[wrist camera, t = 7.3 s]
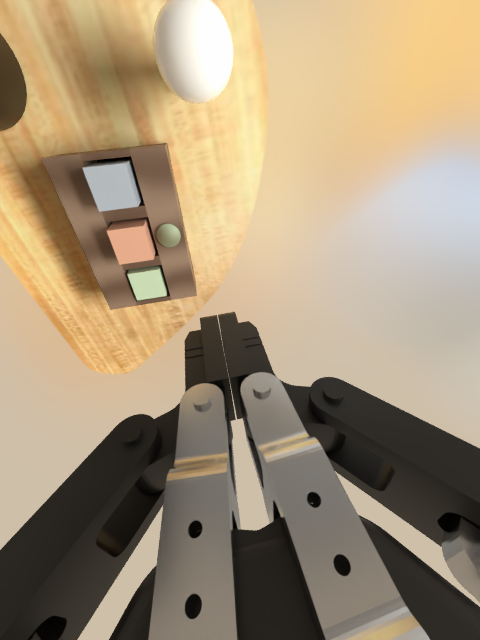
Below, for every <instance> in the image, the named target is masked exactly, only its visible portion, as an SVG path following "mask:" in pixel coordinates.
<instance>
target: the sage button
mask: <svg viewBox="0 0 480 640" xmlns="http://www.w3.org/2000/svg"><path fill="white" fill-rule="evenodd" d="M127 275H128V277H129V280H130V283H131V285H132V288H133V291H134V293H135V296H136V299H137V301H138V300H144V299H151V298H157V297H163V296H167V287H168V286H167V282H166V279H165V275H164V271H163V268H162V265H156V266H149V267H142V268H136V269H129V271H128V274H127Z"/></svg>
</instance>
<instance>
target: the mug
mask: <svg viewBox="0 0 480 640" xmlns="http://www.w3.org/2000/svg"><path fill="white" fill-rule="evenodd" d="M26 98H27V93H26V85H25V80H24V76H23V73H22V70H21V68H20V65H19V63H18V61H17V59H16V57H15V55H14V53H13V51H12V50H11V48H10V46H9V45H8V43H7V42H6V40H5V39H4V38H3V37H2V35H1V34H0V131H1V130H6V129H8V128H10V127H12V126H14V125H15V124H16V123H17V122H18V121H19V120H20V118H21V117H22V115H23V113H24V111H25V106H26Z"/></svg>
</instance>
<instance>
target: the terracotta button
mask: <svg viewBox="0 0 480 640" xmlns="http://www.w3.org/2000/svg"><path fill="white" fill-rule="evenodd" d="M107 234H108V236H109V239H110V241H111V244H112V247H113V249H114V252H115V254H116V257H117V260H118V262H119V265H121V264H128V263H135V262H141V261H148V260H154V256H155V251H156V243H155V239H154V236H153V232H152V229H151V225H150V222H149V218H148V217H143V218H135V219H128V220H120V221H113V223H112V224H111V225H110V227H109V228H108V229H107Z"/></svg>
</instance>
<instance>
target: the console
mask: <svg viewBox="0 0 480 640" xmlns="http://www.w3.org/2000/svg"><path fill="white" fill-rule="evenodd" d="M128 156H131V158H132V161H133V165H134V168H135V172H136V176H137V179H138V183H139V186H140V190H141V193H142V197H143V199H142V200H141V202H140V204H139V206H138V207H132V208H124V209H116V210H109V211H101V212H99V210H98V208H97V205H96V202H95V200H94V197H93V195H92V192H91V190H90V187H89V184H88V182H87V179H86V177H85V174H84V171H83V169H82V168H83V167H86V166H88V165H91V164H93V163H97V161H96V160H100V159H110V158H119V157H128ZM42 161H43V163H44V166H45V168H46V170H47V172H48V174H49V176H50V179H51V181H52V183H53V185H54V187H55V190H56V192H57V194H58V196H59V198H60V200H61V203H62V205H63V207H64V209H65V211H66V214H67V216H68V218H69V220H70V222H71V224H72V227H73V229H74V231H75V233H76V235H77V238H78V240H79V242H80V244H81V246H82V248H83V251H84V253H85V255H86V257H87V259H88V262H89V264H90V266H91V268H92V270H93V272H94V275H95V277H96V279H97V281H98V283H99V286H100V288H101V290H102V292H103V294H104V296H105V299H106V301H107V303H108V305H109V307H110V309H111V310H112V309H118V308H124V307H130V306H137V305H143V304H149V303H155V302H161V301H167V300H173V299H179V298H186V297H192V296H197V293H196V282H195V276H194V271H193V266H192V261H191V257H190V252H189V247H188V242H187V237H186V232H185V228H184V223H183V218H182V213H181V208H180V203H179V198H178V194H177V189H176V184H175V179H174V174H173V169H172V164H171V160H170V155H169V150H168V145H167V143H165V144H155V145H146V146H136V147H127V148H118V149H108V150H99V151H89V152H80V153H71V154H61V155H56V156H51V157H46V158H42ZM143 217H148V218H149V222H150V225H151V229H152V232H153V236H154V239H155V243H156V251H155V256H154V260H148V261H141V262H135V263H128V264H121V265H119V262H118V260H117V257H116V254H115V252H114V249H113V247H112V244H111V241H110V239H109V236H108V234H107V229H108V228H109V227H110V225H111V224H112V223H113V221H120V220H128V219H135V218H143ZM156 265H162V268H163V271H164V275H165V279H166V282H167V286H168V287H167V296H163V297H157V298H151V299H144V300H138V301H137V299H136V296H135V293H134V291H133V288H132V285H131V283H130V280H129V277H128V275H127V274H128V271H129V269H136V268H142V267H149V266H156Z"/></svg>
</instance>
